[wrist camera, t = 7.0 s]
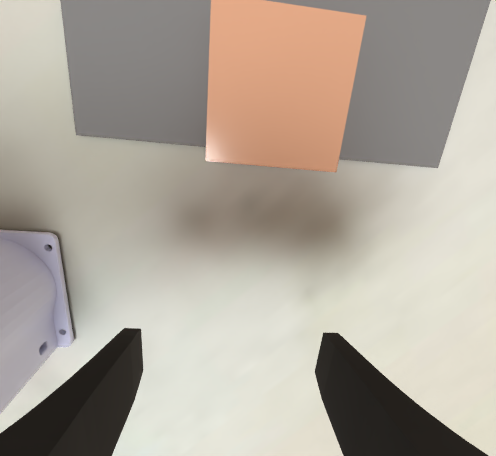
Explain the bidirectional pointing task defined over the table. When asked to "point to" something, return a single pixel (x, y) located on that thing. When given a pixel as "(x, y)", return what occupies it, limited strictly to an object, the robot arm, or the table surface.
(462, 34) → the rubber mat
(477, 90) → the table surface
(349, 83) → the peach square slab
